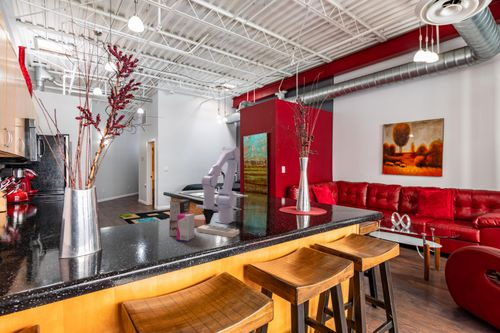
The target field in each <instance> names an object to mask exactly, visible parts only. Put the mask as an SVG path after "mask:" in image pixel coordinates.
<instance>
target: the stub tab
mask: <svg viewBox="0 0 500 333" xmlns="http://www.w3.org/2000/svg"><path fill="white" fill-rule="evenodd" d="M202 225H210V224H206V220H205V217H202V216H195V215H194V228H197V227H200V226H202Z"/></svg>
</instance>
